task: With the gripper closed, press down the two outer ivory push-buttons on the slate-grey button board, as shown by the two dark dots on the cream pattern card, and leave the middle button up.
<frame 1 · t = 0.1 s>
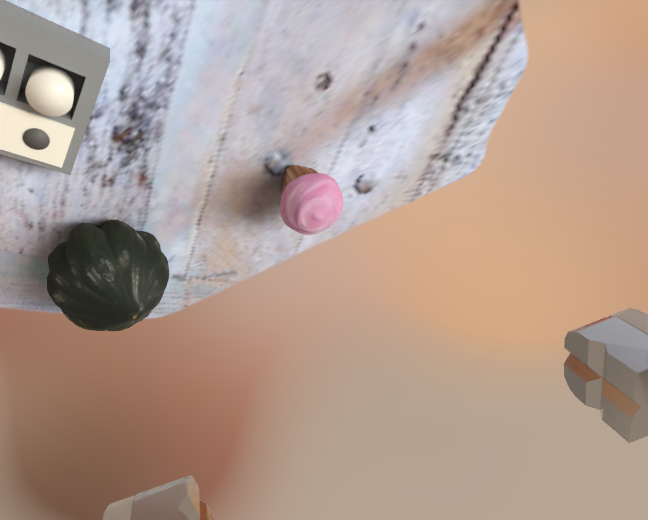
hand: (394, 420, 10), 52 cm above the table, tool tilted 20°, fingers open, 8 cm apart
squash: (110, 246, 66), on the table
button c: (51, 90, 46), point 5 cm above the table, slide at 0.0 cm
cupcake: (297, 178, 68), on the table
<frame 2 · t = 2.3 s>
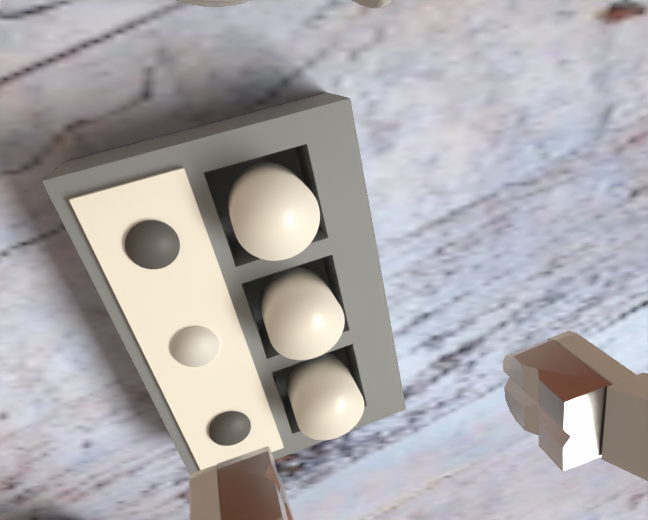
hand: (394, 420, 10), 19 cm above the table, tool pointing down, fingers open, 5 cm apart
button a: (271, 210, 22), point 4 cm above the table, slide at 0.0 cm
button board: (253, 287, 29), on the table
button c: (324, 395, 28), point 4 cm above the table, slide at 0.0 cm
button b: (300, 312, 25), point 4 cm above the table, slide at 0.0 cm
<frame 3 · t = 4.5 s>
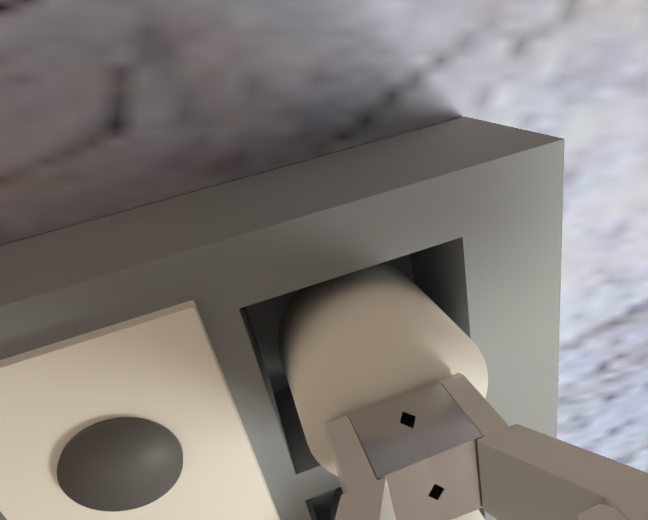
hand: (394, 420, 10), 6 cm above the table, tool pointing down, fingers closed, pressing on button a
button a: (374, 365, 11), point 4 cm above the table, slide at 0.5 cm, touching gripper
button board: (308, 446, 17), on the table
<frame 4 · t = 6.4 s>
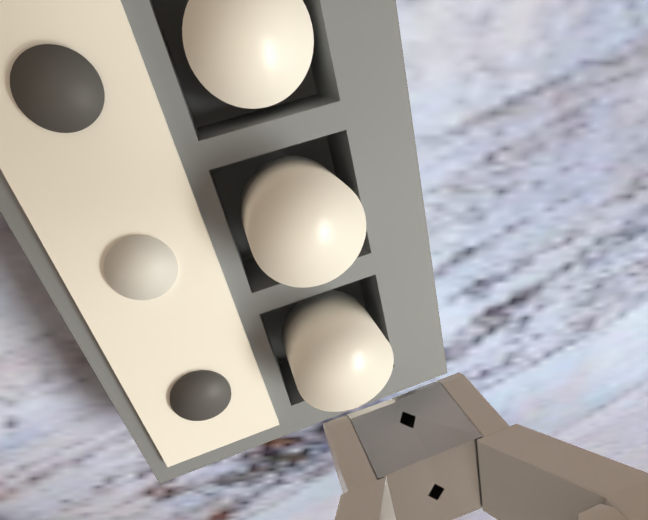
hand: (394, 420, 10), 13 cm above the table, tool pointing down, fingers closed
button a: (244, 41, 16), point 3 cm above the table, slide at 1.7 cm
button board: (234, 201, 20), on the table
button c: (335, 349, 19), point 4 cm above the table, slide at 0.0 cm
button b: (299, 219, 17), point 4 cm above the table, slide at 0.0 cm
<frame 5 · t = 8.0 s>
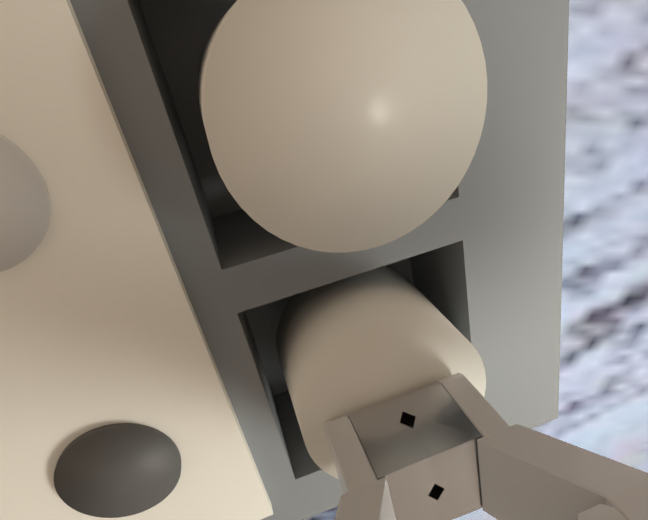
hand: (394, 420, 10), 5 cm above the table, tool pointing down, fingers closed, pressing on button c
button board: (199, 107, 11), on the table
button c: (372, 366, 11), point 4 cm above the table, slide at 0.6 cm, touching gripper
button b: (326, 105, 8), point 4 cm above the table, slide at 0.0 cm
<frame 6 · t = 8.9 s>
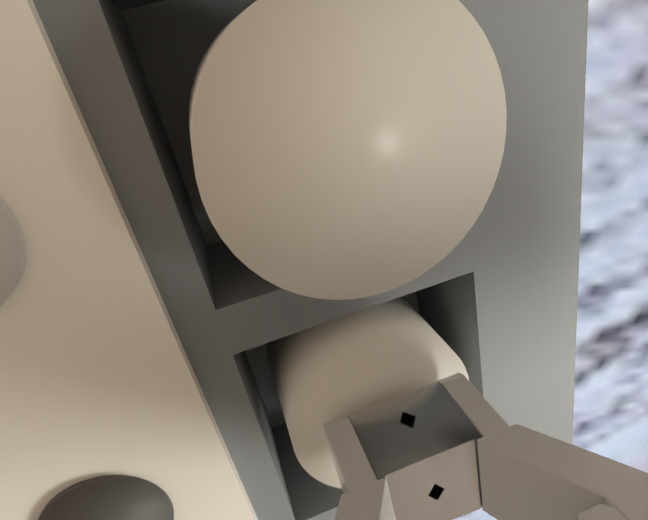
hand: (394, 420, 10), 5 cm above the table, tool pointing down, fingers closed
button board: (191, 129, 11), on the table
button c: (360, 374, 11), point 3 cm above the table, slide at 1.6 cm
button b: (328, 135, 7), point 4 cm above the table, slide at 0.0 cm
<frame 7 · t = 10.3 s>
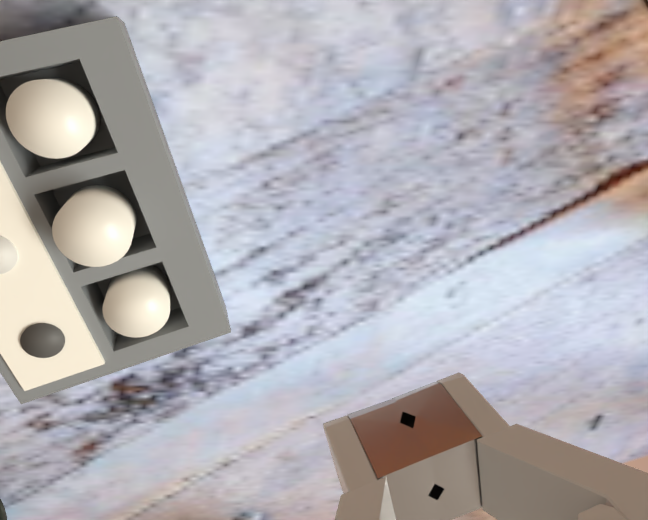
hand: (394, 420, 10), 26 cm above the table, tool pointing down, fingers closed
button a: (56, 117, 26), point 3 cm above the table, slide at 1.7 cm
button board: (76, 213, 31), on the table
button c: (138, 299, 31), point 3 cm above the table, slide at 1.6 cm
button b: (97, 225, 27), point 4 cm above the table, slide at 0.0 cm
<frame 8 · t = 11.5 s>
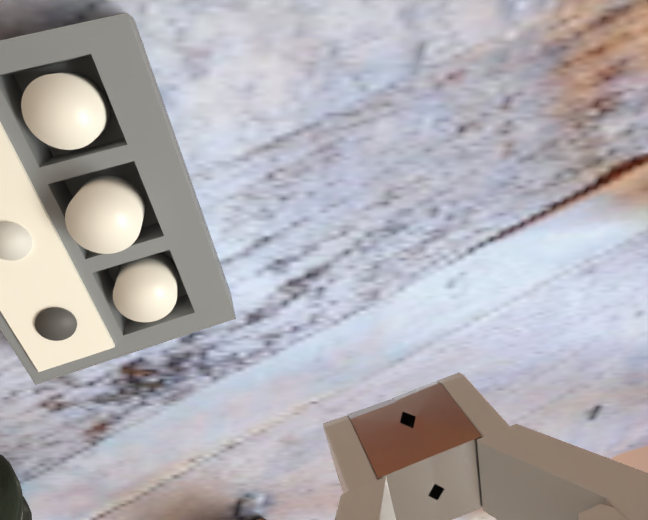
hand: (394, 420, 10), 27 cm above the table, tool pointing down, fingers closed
button a: (68, 110, 27), point 3 cm above the table, slide at 1.7 cm
button board: (87, 202, 32), on the table
button c: (147, 286, 32), point 3 cm above the table, slide at 1.6 cm
button b: (107, 213, 28), point 4 cm above the table, slide at 0.0 cm
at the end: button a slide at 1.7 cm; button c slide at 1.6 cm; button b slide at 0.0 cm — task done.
